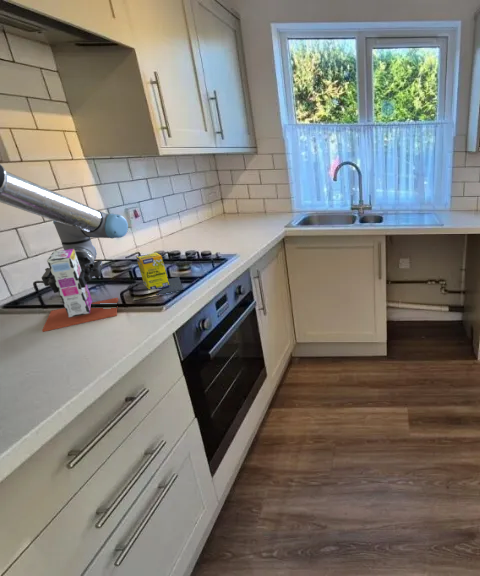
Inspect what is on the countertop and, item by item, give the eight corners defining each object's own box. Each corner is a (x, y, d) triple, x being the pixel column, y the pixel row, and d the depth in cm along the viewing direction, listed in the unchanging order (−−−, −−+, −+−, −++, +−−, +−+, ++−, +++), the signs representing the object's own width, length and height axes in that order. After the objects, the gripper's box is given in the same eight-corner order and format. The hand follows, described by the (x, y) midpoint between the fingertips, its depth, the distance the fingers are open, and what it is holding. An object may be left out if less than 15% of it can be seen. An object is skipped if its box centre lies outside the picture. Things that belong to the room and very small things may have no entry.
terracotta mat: (42, 332, 94) (41, 330, 94) (51, 312, 105) (51, 310, 105) (116, 315, 102) (116, 313, 102) (118, 299, 113) (117, 297, 113)
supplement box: (150, 292, 116) (140, 259, 112) (144, 287, 120) (135, 256, 115) (170, 286, 120) (162, 255, 116) (164, 282, 124) (155, 251, 119)
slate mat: (133, 301, 111) (132, 299, 111) (133, 287, 122) (132, 285, 122) (183, 290, 118) (183, 289, 118) (179, 278, 129) (178, 276, 129)
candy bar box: (91, 313, 100) (70, 257, 93) (68, 318, 97) (45, 260, 91) (93, 300, 108) (74, 247, 102) (72, 304, 106) (51, 250, 99)
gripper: (116, 267, 119) (113, 290, 101) (45, 279, 110) (28, 306, 92) (109, 246, 116) (105, 265, 98) (35, 256, 107) (16, 279, 89)
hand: (68, 285), depth 95 cm, fingers closed on candy bar box, 5 cm apart
